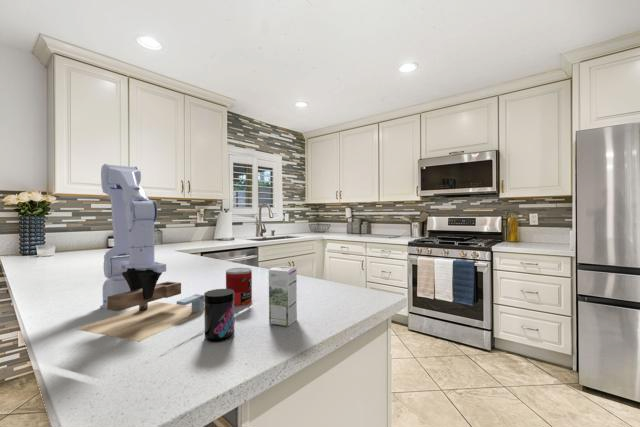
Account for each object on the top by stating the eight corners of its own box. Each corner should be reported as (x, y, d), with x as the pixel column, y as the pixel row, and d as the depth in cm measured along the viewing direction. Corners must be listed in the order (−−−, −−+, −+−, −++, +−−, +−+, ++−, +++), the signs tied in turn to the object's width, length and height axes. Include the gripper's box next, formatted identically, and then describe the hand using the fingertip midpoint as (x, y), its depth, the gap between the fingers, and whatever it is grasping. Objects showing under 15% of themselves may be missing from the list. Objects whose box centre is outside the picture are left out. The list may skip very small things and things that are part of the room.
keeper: (176, 318, 80) (176, 301, 80) (196, 309, 87) (196, 294, 87) (185, 319, 79) (184, 302, 79) (204, 310, 86) (204, 295, 86)
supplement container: (207, 345, 66) (206, 298, 66) (202, 334, 71) (201, 291, 71) (238, 338, 69) (237, 293, 69) (230, 329, 75) (230, 287, 75)
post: (137, 310, 87) (137, 298, 87) (144, 308, 89) (143, 296, 89) (142, 311, 86) (142, 298, 86) (149, 309, 88) (149, 296, 88)
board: (75, 332, 73) (75, 328, 73) (156, 304, 95) (156, 301, 95) (139, 344, 66) (139, 341, 66) (210, 311, 88) (210, 308, 88)
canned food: (245, 309, 90) (245, 272, 90) (221, 307, 91) (220, 271, 91) (256, 301, 97) (255, 267, 97) (233, 300, 99) (233, 267, 99)
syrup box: (297, 319, 81) (297, 266, 81) (288, 327, 75) (287, 270, 75) (278, 317, 83) (278, 264, 83) (268, 325, 77) (267, 268, 77)
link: (167, 292, 90) (167, 281, 90) (180, 293, 88) (181, 282, 88) (104, 309, 73) (104, 296, 73) (120, 311, 71) (120, 298, 71)
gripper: (107, 246, 78) (108, 299, 78) (149, 249, 73) (149, 305, 73) (132, 243, 84) (133, 292, 85) (172, 246, 79) (172, 297, 80)
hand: (142, 297), depth 79 cm, fingers closed on link, 3 cm apart
